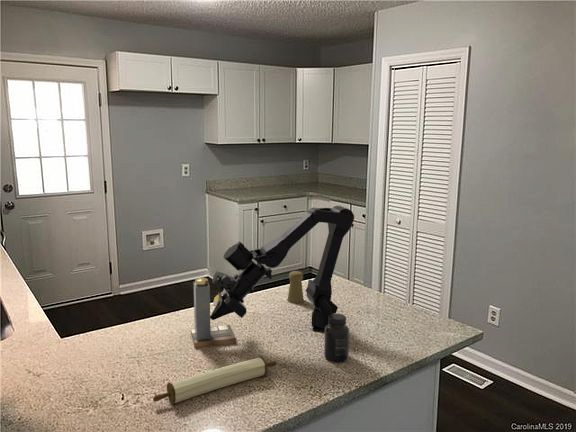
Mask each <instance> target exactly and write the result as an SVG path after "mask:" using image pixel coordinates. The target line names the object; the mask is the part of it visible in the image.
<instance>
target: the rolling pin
mask: <svg viewBox="0 0 576 432" xmlns="http://www.w3.org/2000/svg"><path fill="white" fill-rule="evenodd" d="M276 366H277V361H275V360H273V361H270V362H267V361H266V359H265V358H264V357H263V356H259V357H256V358H252V359H248V360H245V361H241V362H236V363H234V364H230V365H226V366H223V367H219V368H216V369H212V370H209V371H206V372H203V373H200V374H195V375H193V376H189V377H186V378H182V379H179V380H177V381H173V382H171V381H169V382H168V383H167V384H166V392H164V393H160V394H157V395H155V396H153V398H152V400H153V402H154V403H155V402H159V401H161V400H163V399H166V398H168V401H169V404H171V406H173V405H175V404H176V403H180V402H182V401H185V400H188V399H192V398H194V397H196V396H200V395H204V394H206V393H209V392H212V391H215V390H219V389H221V388H225V387H228V386H232V385H235V384H237V383H238V384H239V383H241V382H245V381H247V380H251V379H255V378H256V379H257V378H259V377H266V376H267V374H268V368H272V367H276Z"/></svg>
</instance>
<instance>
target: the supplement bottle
mask: <svg viewBox="0 0 576 432" xmlns="http://www.w3.org/2000/svg"><path fill="white" fill-rule="evenodd" d="M328 323H329V324H328V325H326V327H325V331H324V342H323V343H324V344H323V345H324V346H323V348H324V349H323V351H324V352H323V354H324V358H325V359H326V360H327V361H329V362H332V363H343V362H346V361H348V360H349V355H350V328H349V326H348V325H347V316H346V315H344V314H343V313H342V314H341V313H335V314H331V315H329V320H328Z"/></svg>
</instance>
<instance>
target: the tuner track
mask: <svg viewBox="0 0 576 432" xmlns="http://www.w3.org/2000/svg"><path fill="white" fill-rule="evenodd" d="M210 328H211V339H204V340H197V339H196V336H195V327H194V328H190V334H191V339H192V342H193V347H194V349H195V348H204V347H211V346H220V345H228V344H229V345H230V344H236V343H237V342H236V341H237V340H236V339H237V338H236V335H235V333H234V331H233V329H232V327H231V325H230V324H222V325H212V326H210Z"/></svg>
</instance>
